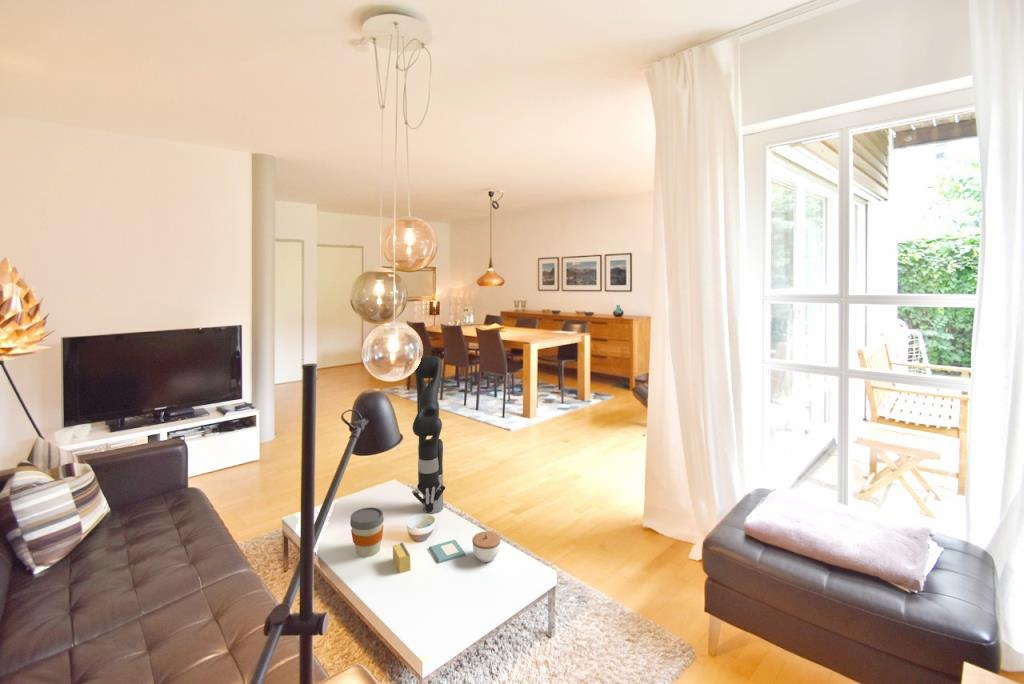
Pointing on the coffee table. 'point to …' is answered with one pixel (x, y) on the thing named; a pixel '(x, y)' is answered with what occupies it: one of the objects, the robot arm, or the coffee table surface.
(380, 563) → the coffee table surface
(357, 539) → the reusable coffee cup
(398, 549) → the yellow box with stripe
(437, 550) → the spiral notebook
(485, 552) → the lidded jar
